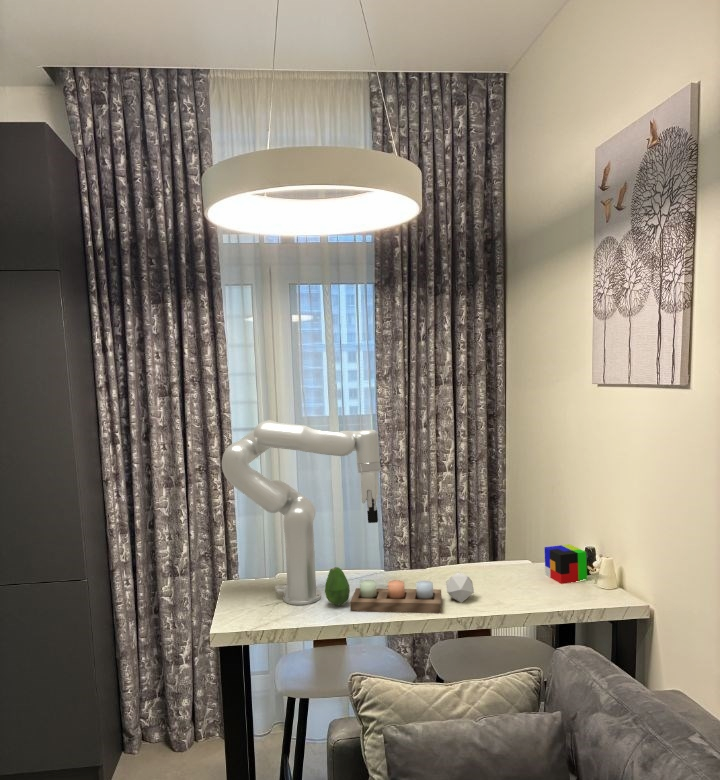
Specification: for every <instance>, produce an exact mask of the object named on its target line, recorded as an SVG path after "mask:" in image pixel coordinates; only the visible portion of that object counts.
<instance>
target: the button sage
mask: <svg viewBox="0 0 720 780" xmlns="http://www.w3.org/2000/svg"><path fill="white" fill-rule="evenodd" d="M359 588H360V596H361V597H363V598H373V597H375V596H376V595H377V590H376V589H377V581H376V580H374V579H364V580H361V581H360V582H359Z"/></svg>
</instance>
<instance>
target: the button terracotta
mask: <svg viewBox="0 0 720 780" xmlns="http://www.w3.org/2000/svg"><path fill="white" fill-rule="evenodd" d="M387 589H388V596H389V597H390V598H395V599H398V598H403V597H404V596H405V589H406V588H405V582H404V581H403V580H398V579H396V580H390V581H388V582H387Z"/></svg>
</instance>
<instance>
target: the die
mask: <svg viewBox="0 0 720 780" xmlns="http://www.w3.org/2000/svg"><path fill="white" fill-rule="evenodd" d="M445 585H446V587H445V588H446V593H447V594H448V595H449V597H451V598H452V599H453V600H456V601H457V602H459V603H462V602H464V601H465V600H467V599H468V598H469V597H470V596H471V595H473V594H474V593H475V591H474V584H473V581H472V579H471V578H470V577H469V576H468V575H467V574H464V573H462V572H461V571H458V572H456V573H455V574H453V575H451V576H450V577H449V578H448V579H447V580H446V581H445Z"/></svg>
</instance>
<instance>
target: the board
mask: <svg viewBox="0 0 720 780" xmlns="http://www.w3.org/2000/svg"><path fill="white" fill-rule="evenodd" d="M376 590H377V595H376V596H375V597H373V598H363V597H361V596H360V587H358V588H357V587H356V588H355V590H354V592H353V594H352V596H351V598H350V601H349V604H350V605H349V608H350V611H349V612H357V613H359V612H365V613H405V614H407V613H408V614H409V613H413V614H417V613H418V614H442V589H435V588H433V597H432V598H430V599H420V598H418V597H417V589H416V588H405V596H404V597H403V598H398V599H395V598H390V597H389V596H388V588H376Z"/></svg>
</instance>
